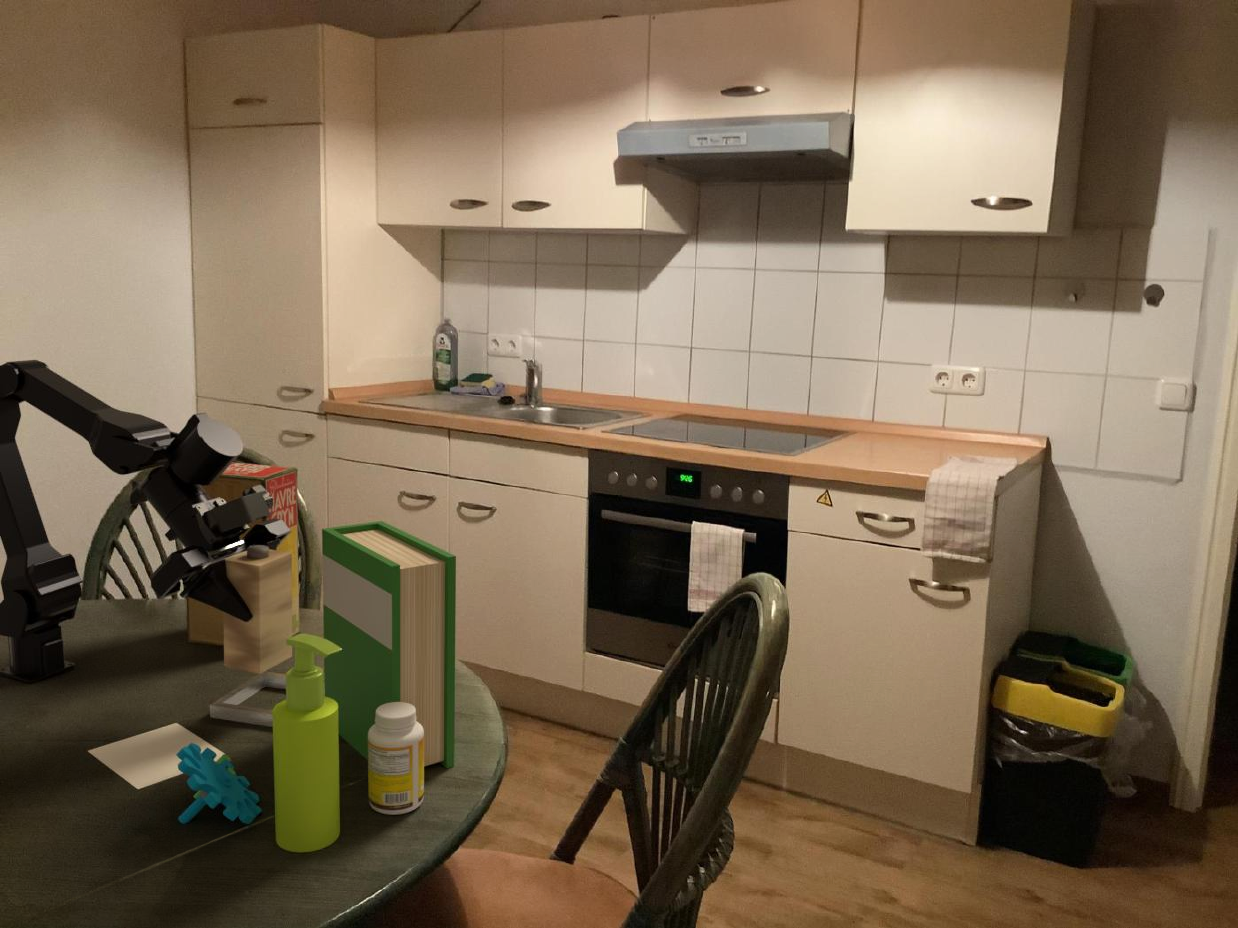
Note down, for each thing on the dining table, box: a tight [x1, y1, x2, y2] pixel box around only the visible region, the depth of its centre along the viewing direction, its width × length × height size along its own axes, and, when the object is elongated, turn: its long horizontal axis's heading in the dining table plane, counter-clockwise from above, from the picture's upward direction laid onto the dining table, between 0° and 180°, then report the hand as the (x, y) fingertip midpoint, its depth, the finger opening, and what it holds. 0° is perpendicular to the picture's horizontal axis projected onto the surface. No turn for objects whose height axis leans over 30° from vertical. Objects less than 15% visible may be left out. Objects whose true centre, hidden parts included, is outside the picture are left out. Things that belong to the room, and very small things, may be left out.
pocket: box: [209, 671, 325, 728], centre depth 125 cm, size 11×11×2 cm
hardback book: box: [321, 520, 457, 769], centre depth 115 cm, size 18×7×24 cm, turn 39°
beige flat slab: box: [87, 722, 225, 790], centre depth 112 cm, size 12×10×1 cm
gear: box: [176, 743, 263, 825], centre depth 100 cm, size 11×6×10 cm
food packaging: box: [185, 461, 301, 648], centre depth 146 cm, size 13×9×25 cm
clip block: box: [223, 545, 293, 674], centre depth 120 cm, size 5×6×14 cm
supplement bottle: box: [367, 702, 425, 816], centre depth 103 cm, size 6×6×10 cm
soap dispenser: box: [272, 633, 342, 853], centre depth 96 cm, size 6×7×20 cm
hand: (267, 611), depth 120 cm, fingers closed on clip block, 6 cm apart
